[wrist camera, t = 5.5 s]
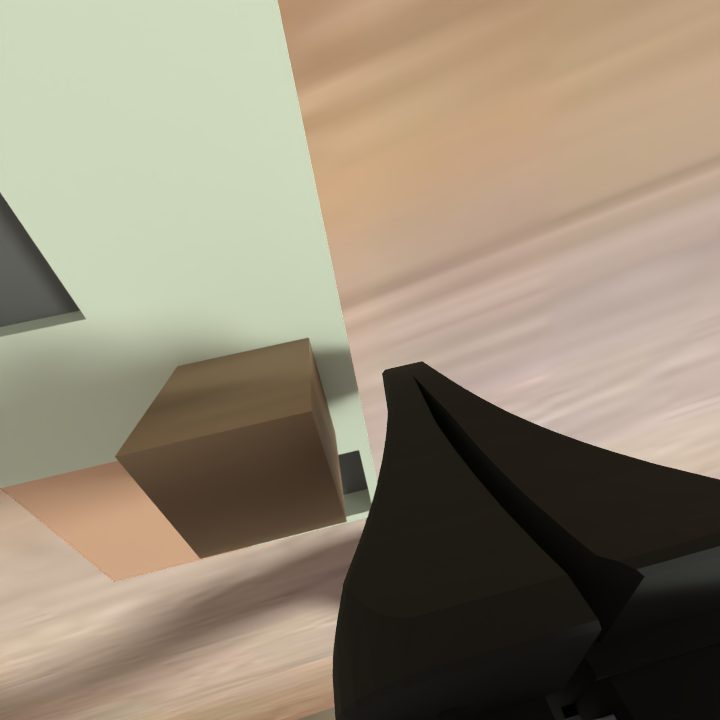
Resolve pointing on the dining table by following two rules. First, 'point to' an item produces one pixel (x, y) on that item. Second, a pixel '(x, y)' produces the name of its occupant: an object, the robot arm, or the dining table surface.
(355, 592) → the robot arm
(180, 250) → the board
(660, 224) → the dining table surface
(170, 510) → the block
